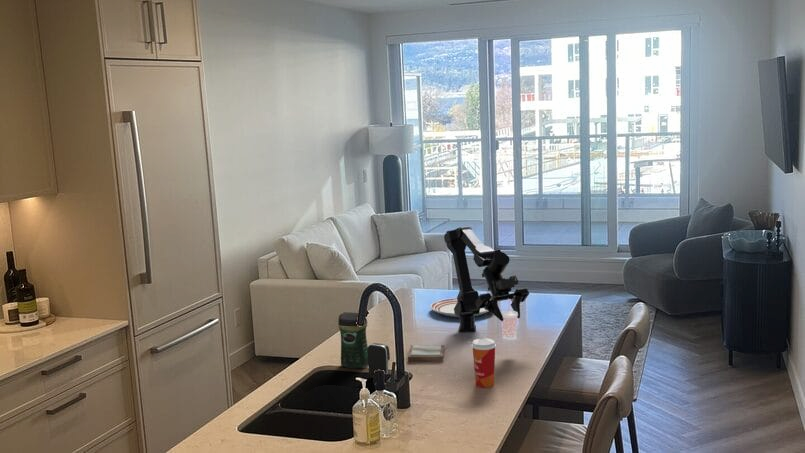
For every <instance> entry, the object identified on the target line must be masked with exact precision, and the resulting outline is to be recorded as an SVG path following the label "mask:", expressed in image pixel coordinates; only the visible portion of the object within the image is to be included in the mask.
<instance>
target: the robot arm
mask: <svg viewBox="0 0 805 453" xmlns="http://www.w3.org/2000/svg"><path fill="white" fill-rule="evenodd" d="M443 239H444V242H445V244H446V247H447V249H448V250H449V251H450V252H451V254H452V257H453V261H454V262H453V264H454V267H455V273H456V278H457V283H458V287H459V292H458V295H457V297H456V298H457V304H456V306H455V307H454V313H455V314H456V315H457V316H459V317H458V318H459V326H458V332H462V333H463V332H477V325H476V323H475V322H476V321H475V320H476V319H475V317H476V316H474V314H479V312H480V309H481V308H485V310H488V312H490V313H491V314H493V315H494V316H495V317H496V318H497V319H498V320H499V321H500V322H501V321H503V320H504V319H503V316H502V314H501V312H502V311H501V310H500V307H499V305H498V302H501V301H508V299H509V300H511V304H510V306H511V308H512V311H516V312H518V316H517V320H518V319H520V318H521V303H523V302H525V301H526V299H527V298H528V296H529V295H530V292H529V289H528V288H526V287H521V288H516V289H515V290H514V291H513V292H512V288H515V286H517V285H519V279H518V277H517V275H511V276H509V277H508V278H505V277H504V278H503V276H502V274H503V272H505V270H506V268H507V266H508V264H510V262H511V261H510V257H509V255H508V254H506V253H505V252H503V251H501V249H495V250H494V249H493V248H492V247H491V246H487V245H485V244H484V243H483V242H482V241H481V240H480V239H479V237H478V236H477V235H476V234H475V232H474V231H473V230H472V227H471V226H469V225H466V226H459V227H457V228H455V229H452V230H451V229H450V230H447V231H446V232H445V233H444V236H443ZM466 248H468V249H469V250H470V252H471V253H472V254H473V261H474V263H475V265H476V266H477V267H478V268H483V267H484V269H482V273H481V277H482V278H485V281H486V283H487V285H488V287H487V291H488V292H487V293H483V294H482V293H480V294H479V291H477V290H475V289H474V288H473V286H472V280H471V275H470V272H469V271H470V270H469V264H468V260H467V255H466ZM489 291H490V293H489ZM510 292H512V293H510Z"/></svg>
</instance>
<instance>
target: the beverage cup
mask: <svg viewBox="0 0 805 453" xmlns="http://www.w3.org/2000/svg"><path fill="white" fill-rule="evenodd" d="M510 306H511V304H510V299H508V300H507V307H508V308H507V309H508V310H503V311H501V314H502V316H503V319H504V320H503V321H501V320H500V322H501V330H502V331H501V332H502V339H503V340H504V341H513V340H516V339H517V328H518V326H517V325H518V318H517V316H518V312H516V311H514V310H511V309H510Z"/></svg>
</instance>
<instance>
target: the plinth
mask: <svg viewBox="0 0 805 453" xmlns="http://www.w3.org/2000/svg"><path fill="white" fill-rule="evenodd" d="M408 351H409V352H408V355H407V363H443V362H444V357H445V344H429V345H428V344H418V345H417V344H414V345H412V344H411V345H410V346H409V350H408Z"/></svg>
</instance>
